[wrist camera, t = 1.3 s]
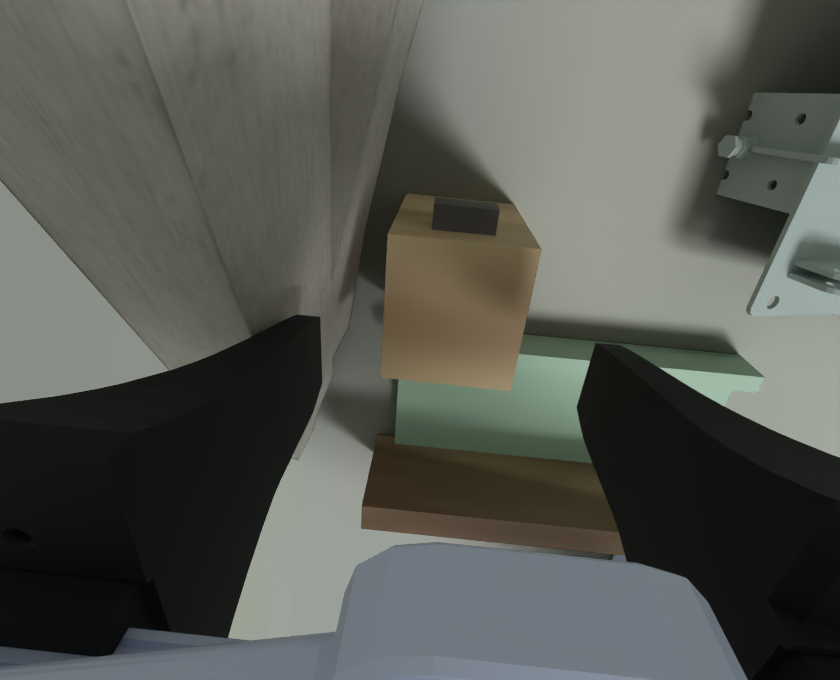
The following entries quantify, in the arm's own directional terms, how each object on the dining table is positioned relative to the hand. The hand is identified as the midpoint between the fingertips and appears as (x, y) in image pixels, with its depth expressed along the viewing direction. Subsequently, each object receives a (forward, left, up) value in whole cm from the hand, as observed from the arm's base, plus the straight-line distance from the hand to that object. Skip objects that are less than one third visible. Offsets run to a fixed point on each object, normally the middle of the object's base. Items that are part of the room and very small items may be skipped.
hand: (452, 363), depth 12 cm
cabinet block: (0, 0, -9) cm, 9 cm away
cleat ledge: (-7, -6, -9) cm, 13 cm away
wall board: (-11, -6, -9) cm, 16 cm away
